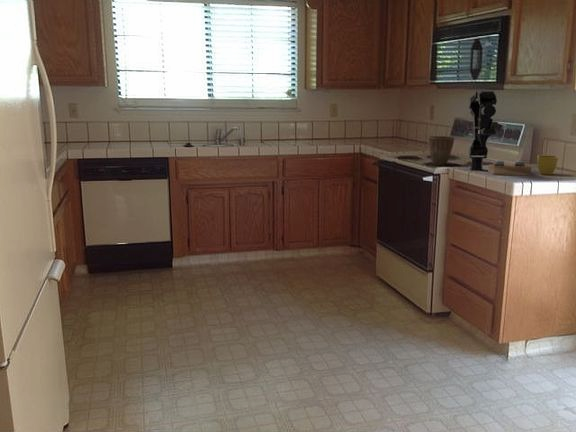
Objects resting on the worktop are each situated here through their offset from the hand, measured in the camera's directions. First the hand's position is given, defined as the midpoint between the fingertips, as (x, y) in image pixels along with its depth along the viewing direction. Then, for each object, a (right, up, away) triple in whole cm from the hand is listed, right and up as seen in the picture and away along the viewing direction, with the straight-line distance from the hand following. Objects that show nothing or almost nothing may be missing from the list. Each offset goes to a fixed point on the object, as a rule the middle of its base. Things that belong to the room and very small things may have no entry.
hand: (483, 147), depth 278 cm
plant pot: (-10, -5, +43) cm, 45 cm away
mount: (+12, -13, -1) cm, 18 cm away
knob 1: (+8, -13, -1) cm, 15 cm away
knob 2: (+17, -13, -2) cm, 22 cm away
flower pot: (+30, -14, -3) cm, 34 cm away
